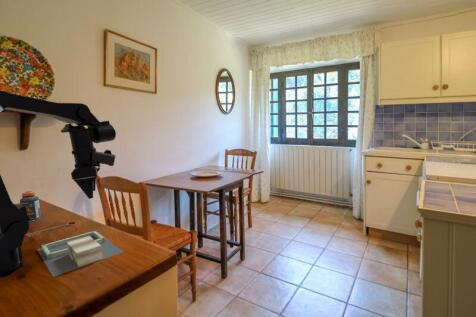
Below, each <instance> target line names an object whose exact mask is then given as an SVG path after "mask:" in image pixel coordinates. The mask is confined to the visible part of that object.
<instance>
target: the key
mask: <svg viewBox="0 0 476 317" xmlns="http://www.w3.org/2000/svg"><path fill="white" fill-rule="evenodd" d="M71 223H72V225H71ZM74 226H77V223H76V222H75V221H70V222H68V223H66V224H63V225H58V226H54V227H51V228H46V229H41V230H38V231H34V232H28V233H26V234H25V236H24V237H28V238H30V237H34V236H38V235H42V233H43V232H47V231H52V230H57V229H60V228H64V227H74Z"/></svg>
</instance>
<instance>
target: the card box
mask: <svg viewBox="0 0 476 317" xmlns="http://www.w3.org/2000/svg"><path fill="white" fill-rule="evenodd" d="M67 249H68V255H69V256H70V257H71V259H72V260H73V261H74V262H75V263H76V265H77V266H78V267H80V266H83V265H86V264H89V263H92V262H95V261H97V260H100V259H103V258H102V248H101V245H100V244H99V243H97V242H96V241H95V240H94V239H93V238H91V237H90V236H87V237H83V238H80V239H76V240H73V241H69V242H67ZM103 260H104V259H103ZM100 261H101V260H100ZM95 263H96V262H95ZM92 264H93V263H92ZM89 265H90V264H89ZM86 266H87V265H86ZM83 267H84V266H83ZM80 268H81V267H80Z"/></svg>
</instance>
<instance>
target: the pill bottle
mask: <svg viewBox="0 0 476 317" xmlns="http://www.w3.org/2000/svg"><path fill="white" fill-rule="evenodd" d="M19 205H21V206H25V207H26V210H27V215H28V217H29V218H30V219H31V221H28V222H29V223H30V222H34V221H38V220H40V219H41V218H42V215H41V208H40V200H39V196H37V195H36V193H35V191H34V190H28V191H24V192H22V193H21V198H20V199H19Z"/></svg>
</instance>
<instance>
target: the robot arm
mask: <svg viewBox="0 0 476 317" xmlns="http://www.w3.org/2000/svg"><path fill="white" fill-rule="evenodd" d="M4 110H8V111H9V110H10V111H14V112H20V113H27V114H33V115H40V116H44V117H45V116H46V117H50V118H53V119H56V120H58V121H60V122H63V123H65V125H64V127H63V128H62V129H61V130H60V133H63V134H64V133H68V134H69V139H70V144H71V149H72V150H71V154H72V155H73V159H74V169H72V172H71V173H70V175H71V180H73V182H74V183H76V185H77V186H78V187H79V188H80V190H81V191H82V192H83V193H84V194H85V196H86V198H88V199H89V200H90V199H93V198H94V192H95V191H96V187H97V186H96V184H97V177H98V172H99V171H100V170H101V165H107V166H110V167H114V165H115V162H116V158H117V157H116V154H114V153H112V150H110V149H105V150H104V152H103V151H97V148H96V147H95V145H94V144H101V143H107V142H112V141H114V140H115V139H116V135H117V133H116V132H117V130H115V128H114V126H113V125H112V124H110V121H109V120H103V121H100V120H99V119H98V118H97V117H96V116H95V115H94V114H93V113H92V111H91V109H90V108H89V106H88V105H87V104H85V103H83V102H82V103H81V102H79V103H78V102H75V103H74V102H54V101H50V100H44V99H40V98H36V97H32V96H26V95H20V94H16V93H13V92H12V93H10V92H8V91H6V90H0V113H1V112H3V111H4ZM86 127H87V128H86ZM28 221H30V222H32V221H31V219H30V218H29V217H28V215H27V210H26V207H25V206H21V205H20V204H15V203H13V201H12V199H11V197H10V194H9V191H8V189H7V186H6V184H5V183H4V180H3V178H2V175H1V174H0V278H6V277H8V276H10V275H12V274H14V273H15V272H17V271H18V270H20V269H22V268H23V267H25V266H27V265H28V264H29V263H28V262H23V253H22V246H23V243H24V240H25V237H26V236H25V234H28V233H29V230H30V228H31V227H30V222H28Z"/></svg>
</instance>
